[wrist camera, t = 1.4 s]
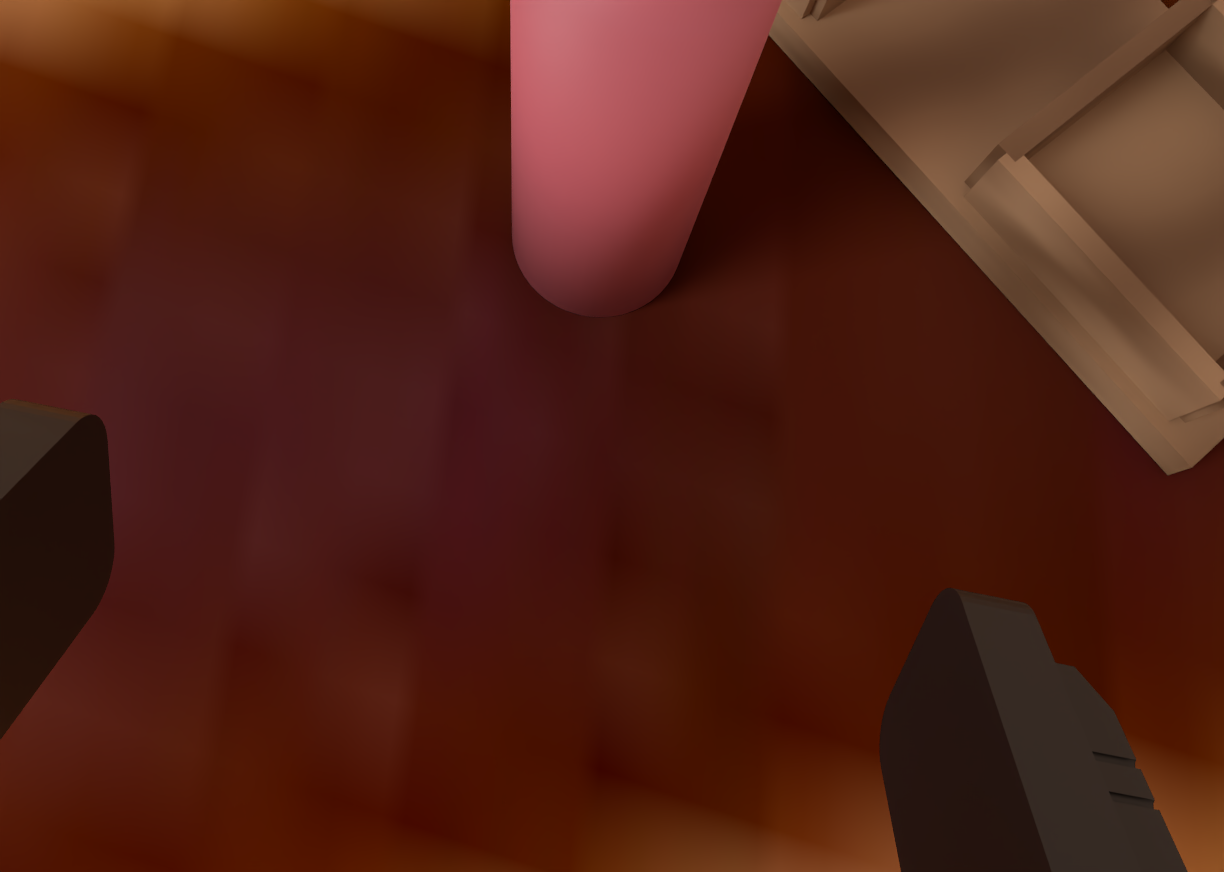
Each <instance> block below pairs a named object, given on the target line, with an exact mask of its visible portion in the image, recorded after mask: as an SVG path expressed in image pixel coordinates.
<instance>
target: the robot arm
mask: <svg viewBox="0 0 1224 872" xmlns="http://www.w3.org/2000/svg"><path fill="white" fill-rule="evenodd" d="M113 559H114V532H113V517H112V502H111V487H110V472H109V456H108V441H107V433H106V429H105V426H104V424H103V422H102V420H101V419H100V418H99V417H98V416H96V415H92V414H87V413H82V412H77V411H72V410H67V409H62V408H57V407H52V406H47V405H42V404H37V403H32V402H27V401H22V400H16V399H11V400H7V401H5V402H2V403H1V404H0V739H1V738H2V737H3V735H4V734H5V733H6V731H7V730H8V729H9V727H10V726H11V724H12V723H13V722H14V720H15V719H16V718H17V716H18V715H19V714H20V712H21V711H22V709H23V708H24V707H25V705H26V704H27V703H28V701H29V700H30V699H31V697H32V696H33V695H34V693H35V692H36V690H37V689H38V688H39V686H40V685H41V684H42V682H43V681H44V680H45V678H46V677H47V675H48V674H49V673H50V671H51V670H52V669H53V667H54V666H55V665H56V663H57V662H58V660H59V659H60V658H61V656H62V655H63V654H64V652H65V651H66V650H67V648H68V647H69V646H70V644H71V643H72V641H73V640H74V639H75V637H76V636H77V635H78V633H79V632H80V631H81V629H82V628H83V626H84V625H85V624H86V622H87V621H88V620H89V618H90V617H91V616H92V614H93V613H94V611H95V610H96V608H97V606H98V605H99V603H100V601H101V599H102V597H103V594H104V592H105V590H106V587H107V584H108V581H109V578H110V574H111V570H112V565H113ZM1135 761H1136V758H1135V756H1134V754H1133V752H1132V750H1131V747H1130V745H1129V743H1128V741H1127V739H1126V736H1125V734H1124V732H1123V730H1122V728H1121V726H1120V723H1119V721H1118V719H1117V717H1116V715H1115V712H1114V711H1113V710H1112V709H1111V708H1110V707H1109V705H1108V704H1107V703H1106V702H1105V701H1104V700H1103V699H1102V697H1101V696H1100V695H1099V694H1098V693H1097V692H1096V691H1095V690H1094V688H1093V687H1092V686H1091V685H1090V684H1089V683H1088V682H1087V681H1086V679H1085V678H1084V677H1083V676H1082V675H1081V674H1080V673H1079V672H1078V670H1077V669H1076V668H1075V667H1073V666H1068V665H1063V664H1058V663H1055V661H1054V659H1053V656H1052V654H1051V652H1050V649H1049V647H1048V644H1047V642H1046V639H1045V637H1044V635H1043V632H1042V630H1041V627H1040V625H1039V623H1038V620H1037V618H1036V616H1035V614H1034V612H1033V610H1032V609H1031V607H1030V606H1029V605H1027V604H1026V603H1022V602H1018V601H1013V600H1008V599H1003V598H998V597H993V596H988V595H983V594H978V593H973V592H968V591H963V590H958V589H953V588H947V589H945V590H943V591H942V592H941V593H940V594H939V595H938V596H937V598H936V599H935V600H934V602H933V604H932V606H931V608H930V610H929V613H928V615H927V617H926V619H925V621H924V623H923V625H922V628H921V630H920V632H919V634H918V636H917V638H916V640H915V643H914V645H913V647H912V649H911V651H910V653H909V655H908V658H907V660H906V662H905V664H904V666H903V668H902V670H901V673H900V675H899V677H898V679H897V681H896V683H895V686H894V688H893V690H892V692H891V694H890V696H889V699H888V701H887V704H886V707H885V711H884V715H883V719H882V725H881V733H880V762H881V769H882V774H883V779H884V784H885V790H886V795H887V800H888V805H889V810H890V816H891V821H892V826H893V831H894V836H895V842H896V847H897V852H898V857H899V862H900V868H901V872H1187V870H1186V867H1185V865H1184V863H1183V861H1182V859H1181V857H1180V854H1179V852H1178V850H1177V848H1176V846H1175V843H1174V841H1173V839H1172V837H1171V835H1170V833H1169V830H1168V828H1167V826H1166V824H1165V822H1164V819H1163V817H1162V815H1161V813H1160V811H1159V810H1155V809H1154V808H1153V803H1154V798H1153V795H1152V793H1151V791H1150V789H1149V787H1148V785H1147V782H1146V780H1145V778H1144V776H1143V774H1142V771H1141V769H1136V768H1135Z"/></svg>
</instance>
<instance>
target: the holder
mask: <svg viewBox="0 0 1224 872" xmlns="http://www.w3.org/2000/svg"><path fill="white" fill-rule="evenodd" d="M769 36H770V37H771V38H772V39H773V40H774V41H775V42H776V43H777V45H778V46H779V47H780V48H781V49H782V50H783V51H784V52H785V53H786V55H787V56H788V57H789V58H790V59H791V60H792V61H793V62H794V63H795V64H796V66H797V67H798V68H799V69H800V70H801V71H802V72H803V73H804V74H805V75H806V77H807V78H808V79H809V80H810V81H811V82H812V83H813V84H814V85H815V87H816V88H817V89H818V90H819V91H820V92H821V93H822V94H823V95H824V96H825V98H826V99H827V100H828V101H829V102H830V103H831V104H832V105H833V106H834V108H835V109H836V110H837V111H838V112H839V113H840V114H841V115H842V116H843V117H844V119H845V120H846V121H847V122H848V123H849V124H850V125H851V126H852V127H853V128H854V130H855V131H856V132H857V133H858V134H859V135H860V136H861V137H862V138H863V140H864V141H865V142H866V143H867V144H868V145H869V146H870V147H871V148H872V149H873V151H874V152H875V153H876V154H877V155H878V156H879V157H880V158H881V159H882V160H883V162H884V163H885V164H886V165H887V166H888V167H889V168H890V169H891V170H892V172H893V173H894V174H895V175H896V176H897V177H898V178H899V179H900V180H901V181H902V183H903V184H904V185H905V186H906V187H907V188H908V189H909V190H910V191H911V193H912V194H913V195H914V196H915V197H916V198H917V199H918V200H919V201H920V202H921V204H922V205H923V206H924V207H925V208H926V209H927V210H928V211H929V212H930V213H931V215H932V216H933V217H934V218H935V219H936V220H937V221H938V222H939V223H940V225H941V226H942V227H943V228H944V229H945V230H946V231H947V232H948V233H949V234H950V236H951V237H952V238H953V239H954V240H955V241H956V242H957V243H958V244H959V245H960V247H961V248H962V249H963V250H964V251H965V252H966V253H967V254H968V255H969V257H970V258H971V259H972V260H973V261H974V262H975V263H976V264H977V265H978V266H979V268H980V269H981V270H982V271H983V272H984V273H985V274H986V275H987V276H988V277H989V279H990V280H991V281H992V282H993V283H994V284H995V285H996V286H997V287H998V289H999V290H1000V291H1001V292H1002V293H1003V294H1004V295H1005V296H1006V297H1007V298H1008V300H1009V301H1010V302H1011V303H1012V304H1013V305H1014V306H1015V307H1016V308H1017V310H1018V311H1019V312H1020V313H1021V314H1022V315H1023V316H1024V317H1025V318H1026V319H1027V321H1028V322H1029V323H1030V324H1031V325H1032V326H1033V327H1034V328H1035V329H1036V330H1037V332H1038V333H1039V334H1040V335H1041V336H1042V337H1043V338H1044V339H1045V340H1046V342H1047V343H1048V344H1049V345H1050V346H1051V347H1052V348H1053V349H1054V350H1055V351H1056V353H1057V354H1058V355H1059V356H1060V357H1061V358H1062V359H1063V360H1064V361H1065V362H1066V364H1067V365H1068V366H1069V367H1070V368H1071V369H1072V370H1073V371H1074V372H1075V374H1076V375H1077V376H1078V377H1079V378H1080V379H1081V380H1082V381H1083V382H1084V383H1085V385H1086V386H1087V387H1088V388H1089V389H1090V390H1091V391H1092V392H1093V393H1094V395H1095V396H1096V397H1097V398H1098V399H1099V400H1100V401H1101V402H1102V403H1103V404H1104V406H1105V407H1106V408H1107V409H1108V410H1109V411H1110V412H1111V413H1112V414H1113V415H1114V417H1115V418H1116V419H1117V420H1118V421H1119V422H1120V423H1121V424H1122V425H1123V427H1124V428H1125V429H1126V430H1127V431H1128V432H1129V433H1130V434H1131V435H1132V436H1133V438H1134V439H1135V440H1136V441H1137V442H1138V443H1139V444H1140V445H1141V446H1142V447H1143V449H1144V450H1145V451H1146V452H1147V453H1148V454H1149V455H1150V456H1151V457H1152V459H1153V460H1154V461H1155V462H1156V463H1157V464H1158V465H1159V466H1160V467H1161V468H1162V470H1163V471H1164V472H1165V473H1166V474H1167V475H1170V474H1173V473H1176V472H1180V471H1183V470H1186V469H1189V468H1192V467H1193V466H1194V465H1195V464H1196V463H1197V462H1198V461H1199V460H1201V459H1202V458H1203V457H1204V456H1205V455H1206V454H1207V453H1208V452H1209V451H1210V450H1211V449H1212V448H1213V447H1214V446H1216V445H1217V444H1218V443H1219V442H1220V441H1221V440H1222V439H1223V438H1224V0H1179V1H1178V2H1177V3H1176V4H1174V5H1173V6H1172V7H1171V8H1169V9H1168V8H1167V7H1166V6H1165V5H1164V4H1163V3H1162V2H1161V1H1160V0H782V1H781V4H780V7H779V9H778V12H777V14H776V17H775V19H774V22H773V24H772V27H771V30H770V32H769Z"/></svg>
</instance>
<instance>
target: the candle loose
mask: <svg viewBox="0 0 1224 872" xmlns="http://www.w3.org/2000/svg"><path fill="white" fill-rule="evenodd" d="M781 1H782V0H510V14H511V153H512V241H513V249H514V253H515V257H516V260H517V263H518V265H519V268H520V269H521V271H522V273H523V275H524V277H525V278H526V279H527V281H528V282H529V284H530V285H531V286H532V287H533V288H534V289H535V290H536V291H537V292H538V293H539V294H540V295H541V296H542V297H544V298H545V299H546V300H547V301H549V302H550V303H552V304H554V305H555V306H557V307H559V308H561V309H563V310H566V311H568V312H571V313H574V314H578V315H583V316H588V317H612V316H618V315H623V314H626V313H629V312H632V311H634V310H636V309H639V308H641V307H643V306H644V305H646V304H647V303H649V302H650V301H652V300H653V299H654V298H655V297H657V296H658V295H659V294H660V293H661V292H662V291H663V290H664V288H665V287H666V286H667V285H668V283H669V282H670V280H671V279H672V277H673V275H674V273H675V271H676V269H677V267H678V264H679V262H680V259H681V257H682V254H683V251H684V249H685V246H686V244H687V241H688V239H689V236H690V234H691V231H692V229H693V226H694V223H695V221H696V218H697V216H698V213H699V211H700V208H701V206H702V203H703V200H704V198H705V195H706V193H707V190H708V188H709V185H710V183H711V180H712V177H713V175H714V172H715V170H716V167H717V165H718V162H719V160H720V157H721V155H722V152H723V149H724V147H725V144H726V142H727V139H728V137H729V134H730V132H731V129H732V126H733V124H734V121H735V119H736V116H737V114H738V111H739V109H740V106H741V104H742V101H743V98H744V96H745V93H746V91H747V88H748V86H749V83H750V81H751V78H752V75H753V73H754V70H755V68H756V65H757V63H758V60H759V58H760V55H761V52H762V50H763V47H764V45H765V42H766V40H767V37H768V35H769V32H770V30H771V27H772V24H773V22H774V19H775V17H776V14H777V12H778V9H779V7H780V4H781Z"/></svg>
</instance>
